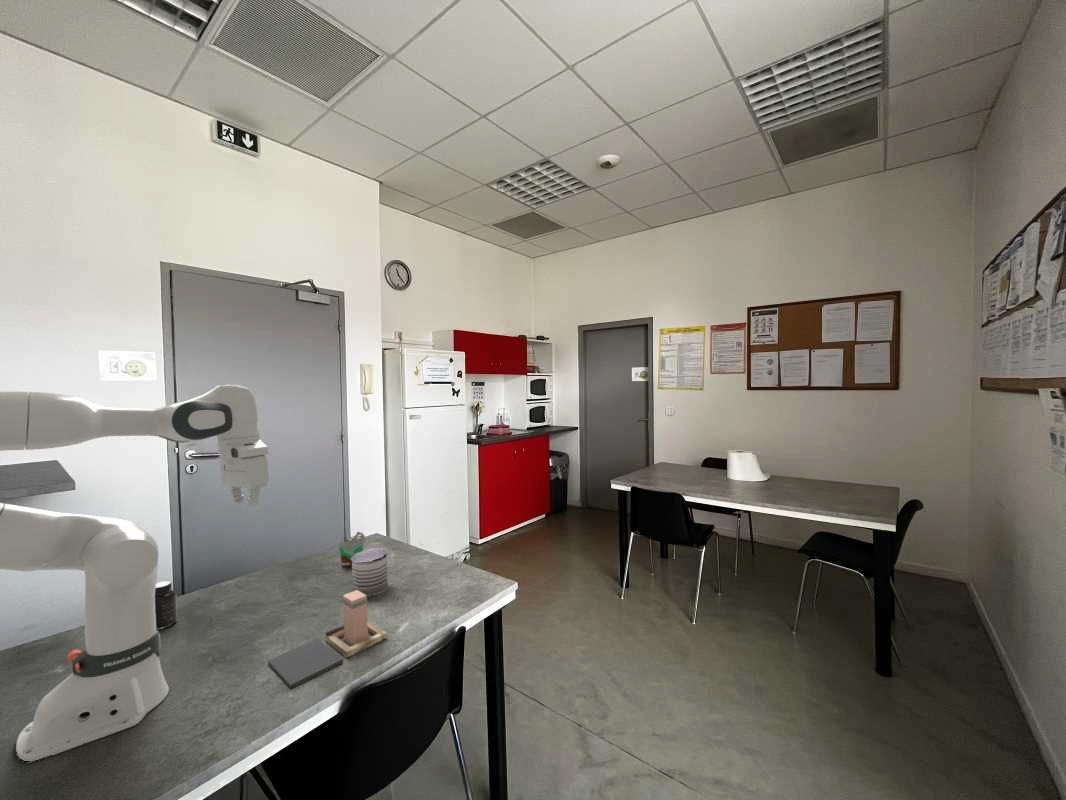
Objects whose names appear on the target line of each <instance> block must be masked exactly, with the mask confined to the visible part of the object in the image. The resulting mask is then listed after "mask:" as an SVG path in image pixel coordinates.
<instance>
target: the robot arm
mask: <svg viewBox="0 0 1066 800" xmlns="http://www.w3.org/2000/svg"><path fill="white" fill-rule="evenodd" d="M258 416H259V415H258V409H257V403H256V398H255V396H254V393H253V391H252V390H251V389H250V388H248V387H246V386H243V385H239V384H219V385H217V386H216V387H215V388H212V389H211V390H210V391H207V392H206V393H204V394H203V395H199V396H197V397H195V398H192V399H189V400H186V401H181V402H175V403H172V404H169V405H166V406H163V407H159V408H120V407H119V408H116V407H107V406H101V405H98V404H94V403H92V402H90V401H87V400H85V399H83V398H80V397H78V396H73V395H72V396H71V395H67V394H66V395H65V394H61V393H53V392H43V391H42V392H41V391H39V392H38V391H0V452H1V451H25V450H26V451H28V450H29V451H30V450H32V451H33V450H44V449H46V450H47V449H56V448H64V447H68V446H73V445H75V446H76V445H80V444H83V443H85V442H88V441H91V440H96V439H100V438H106V437H133V436H134V437H135V436H136V437H139V436H141V437H142V436H147V437H148V436H152V437H159V438H161V439H164V440H168V441H171V442H175V443H190V442H198V441H200V442H201V441H204V440H207V439H209V438H212V437H216V438H217V448H218V456H219V457H218V458H219V459H220V480H221V484H222V485H223V486H226V487H227V486H229V490H230V493H231V495H232V500H233V503H234V504H242V503H243V502H244V495H243V494H242V490H241V489H242V488H243V489H245V488H246V489H247V492H248V498H247V502H248V506H250V507H255V506H259V503H260V502H259V496H260V491H261V489H260V488H263V487H264V488H265V487H266V486H268V483H269V467H268V466H269V465H268V463H269V462H268V457H267V455H269V448H268V446H267V445H266V444H265V443H264V442H263V441H262V439H261V435H260V432H259V430H258V421H259V420H258V419H259V417H258ZM158 563H159V547H158V543H157V541H156V540H155V539H154V537H153V536H152V535H150V534H149V533H148V532H147V531H146V530H145V529H143V528H142V527H141V526H140V525H139V524H137V523H136V522H133V521H130V520H127V519H120V518H114V517H112V518H111V517H106V516H104V517H103V516H97V515H87V514H86V515H85V514H77V513H75V514H74V513H67V512H58V511H51V510H45V509H39V508H34V507H27V506H21V505H16V504H10V503H4V502H0V570H9V571H19V572H35V571H50V570H51V571H52V570H56V571H57V570H60V571H61V570H63V571H64V570H66V571H67V570H69V571H70V570H71V571H74V570H75V571H82V572H84V578H85V584H84V585H85V589H84V590H85V594H84V598H85V599H84V613H83V617H84V634H85V636H84V637H85V639H84V640H85V649H84V650H80V649H74V650H72V651H70V652H69V653H68V655H67V659H68V660H67V661H68V662H69V663H71V665H72V666H71V668H72V673H71V674H70V675H68V676H67V677H65V679H63V680H62V681H61V682H60V683H59V684H57V686H55V687H54V688H53V689H51V690H50V691H49V692H48V693H47V694H46V695H45V696H44V697H42V699H41V700H40V702H39V704H38V706H37V707H36V711H35V713H34V715H33V716H34V717H33V721H31V722H29V723H28V724H27V725H26V726H25V727H24V728H23V729H22V730H21V731H20V733H19V735H18V737H17V739H16V745H15V753H16V752H17V754H16V756H17V755H18V757H19V758H20V759H22V760H24V761H35V760H38V761H40V760H39V759H41V758H44V757H46V758H48V757H47V756H49V757H51V756H50V755H52V756H54V755H57V754H59V753H63V752H66V751H68V750H71V749H73V748H76V747H80V746H82V745H85V744H88V743H91V742H93V741H95V740H98V739H101V738H104V737H107V736H110V735H112V734H116V733H117V732H120V731H124V730H126V729H129V728H131V727H133V726H136V725H137V724H139V723H140V722H141V721H142V720H143V719H144V717H146V715H147V714H148V713H149V712H150V711H151V710H153V709H154V708H155V707H157V706H158V705H159V704H160V703H162V701H164V700H165V698H166V697H167V696H168V694H169V691H170V687H169V686H168V683H167V681H166V679H165V676H164V673H163V670H162V665H161V661H160V655H161V635H160V634H161V633H160V630H158V629H157V628H156V613H155V588H156V583H157V579H158V567H159V566H158ZM84 743H85V744H84ZM29 752H30V753H29ZM18 757H17V758H18ZM19 758H18V759H19ZM20 759H19V760H20ZM44 759H45V758H44ZM41 760H42V759H41ZM24 761H23V762H24ZM35 762H36V761H35Z"/></svg>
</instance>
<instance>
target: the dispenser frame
mask: <svg viewBox="0 0 1066 800" xmlns="http://www.w3.org/2000/svg"><path fill="white" fill-rule="evenodd" d="M367 627H368V631H369V632H371V633H372V634H374V635H372V634H371V633H370V634H371V635H372V636H370V637H368V639H366V640H364V641H361V642H359V643H357V644H355V645H353V646H352V645H350V646H349V645H348V644H346V643H345V642H344V641H342V640H341V639H340V638H341V637H343V636H342V635H344V624H341V625H339V626H338V627H335V628H332V629H330V630H328V631H325V634H324V639H325V640H326V641H325V642H327V644H328V645H330V644H331V645H332V647H333V648H334V649H335V650H336V649H337V650H336V651H338V652H339V653H340V652H341V653H342V654H341V653H340V654H341V655H342V656H344V657H345V656H346V657H348V658H349V656H350V657H352V656H354V655H356V654H358V653H360V652H362V651H364V650H366V649H368V648H370V647H372V646H374V645H375V644H374V643H376V642H378V641H380V640H382V639H384V638H385V637H387V638H388V636H387V635H388V634H387V632H386V631H385V630H383V629H381V628H380V627H378V626H376V625H375V624H374V623H372V622H371V621H369V620H368V619H367ZM369 632H368V633H369ZM340 636H341V637H340ZM338 637H339V638H338ZM373 644H374V645H373ZM331 645H330V646H331ZM371 645H372V646H371ZM369 646H370V647H369ZM367 647H368V648H367ZM365 648H366V649H365ZM363 649H364V650H363ZM361 650H362V651H361ZM359 651H360V652H359ZM357 652H358V653H357ZM355 653H356V654H355ZM353 654H354V655H353ZM351 655H352V656H351ZM346 657H345V658H346Z"/></svg>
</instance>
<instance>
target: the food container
mask: <svg viewBox="0 0 1066 800" xmlns="http://www.w3.org/2000/svg"><path fill="white" fill-rule="evenodd" d="M338 542H339V543H338V549H339V552H340V562H341V568H350V567H349V566H351V567H352V560H351V558H352V557H353V556H354V555H355V554H357V553H359V552H362V551H364V544H365V542H366V536H365V534H364V533H363V532H362V531H361V532H360V531H357V532H356V534H355V535H353V536H350V537H348V538H346V540H344V541H338Z"/></svg>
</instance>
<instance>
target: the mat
mask: <svg viewBox="0 0 1066 800" xmlns="http://www.w3.org/2000/svg"><path fill="white" fill-rule="evenodd" d="M343 660H344V659H343V658H342V657H341V656H340V655H338V654H337V653H336V652H335V651H334V650H332V649H331V648H330V647H329V646H328V645H326V644H325V643H323V641H321V640H320V639H319V638H316V639H314V640H312V641H310V642H308V643H305V644H302V645H301V646H298V647H295V648H293V649H291V650H289V651H287V652H284V653H282V654H279V655H278V656H275V657H272V658H270V659H268V660H267V664H268V666H269V667H271V669H273V671H274V672H275V673H276V675H278V676H279V677H280V679H282V681H284V683H285V684H286V685H287V686H288V687H289V688H290V689H292V688H294V687H297V686H298V685H300V684H303V683H304V682H307V681H309V680H310V679H312V678H315V677H317V676H318V674H319V675H320V673H321V674H323V673H324V671H325V672H326V670H327V669H329V668H331V669H332V667H333V668H335V667H337V666H339V665H340V663H341V664H342V662H343V663H344V661H343ZM338 664H339V665H338ZM336 665H337V666H336ZM334 666H335V667H334ZM329 670H330V669H329ZM327 671H328V670H327ZM322 672H323V673H322ZM314 676H315V677H314Z"/></svg>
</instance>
